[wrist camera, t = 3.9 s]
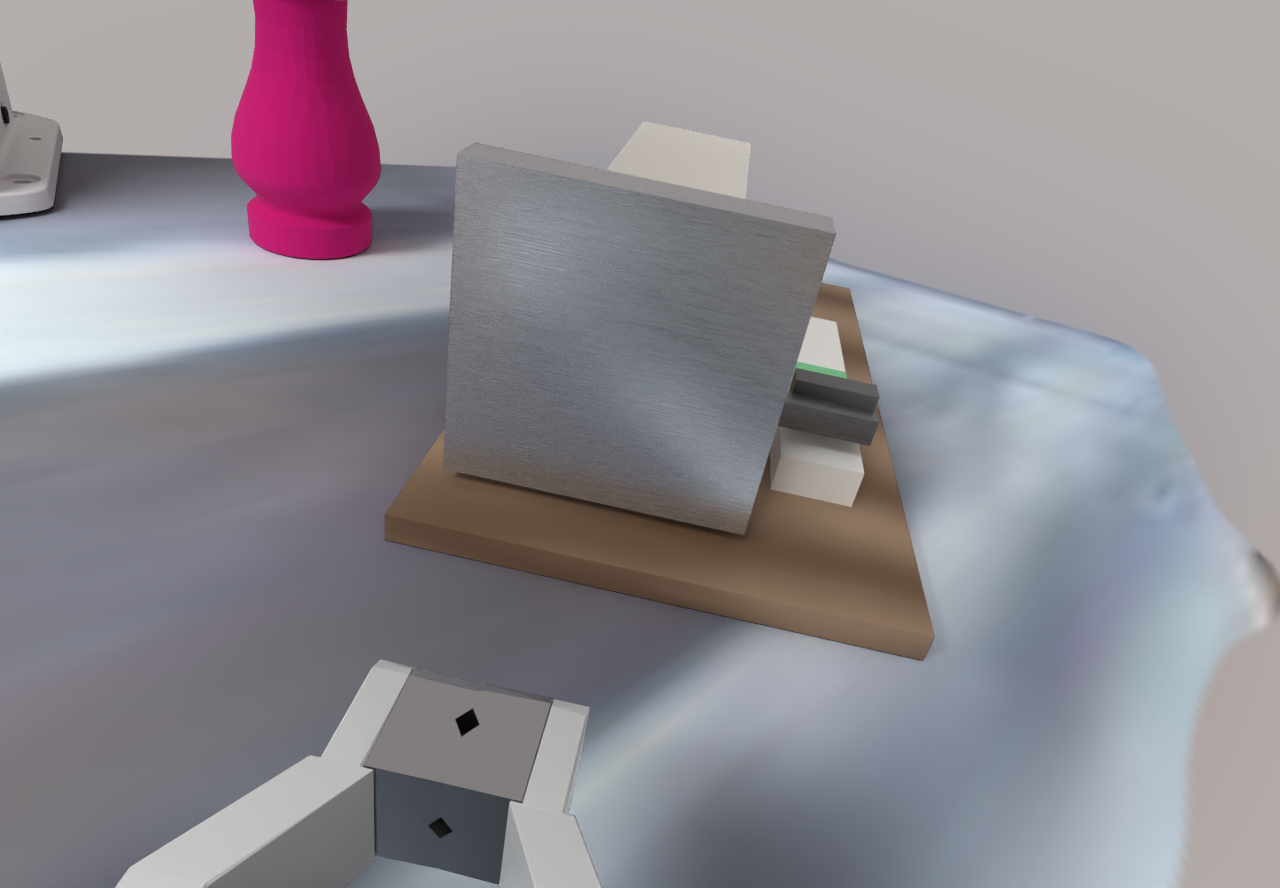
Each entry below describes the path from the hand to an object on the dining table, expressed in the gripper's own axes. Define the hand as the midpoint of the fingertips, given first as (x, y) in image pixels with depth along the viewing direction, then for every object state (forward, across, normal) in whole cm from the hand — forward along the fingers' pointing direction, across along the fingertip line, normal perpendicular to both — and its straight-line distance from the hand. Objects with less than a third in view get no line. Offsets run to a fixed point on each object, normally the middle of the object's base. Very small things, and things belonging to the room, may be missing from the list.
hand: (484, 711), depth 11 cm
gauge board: (+26, -2, +8) cm, 28 cm away
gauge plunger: (+24, -2, +6) cm, 24 cm away
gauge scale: (+24, -7, +7) cm, 26 cm away
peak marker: (+20, -7, +5) cm, 21 cm away
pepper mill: (+34, +20, +8) cm, 40 cm away
